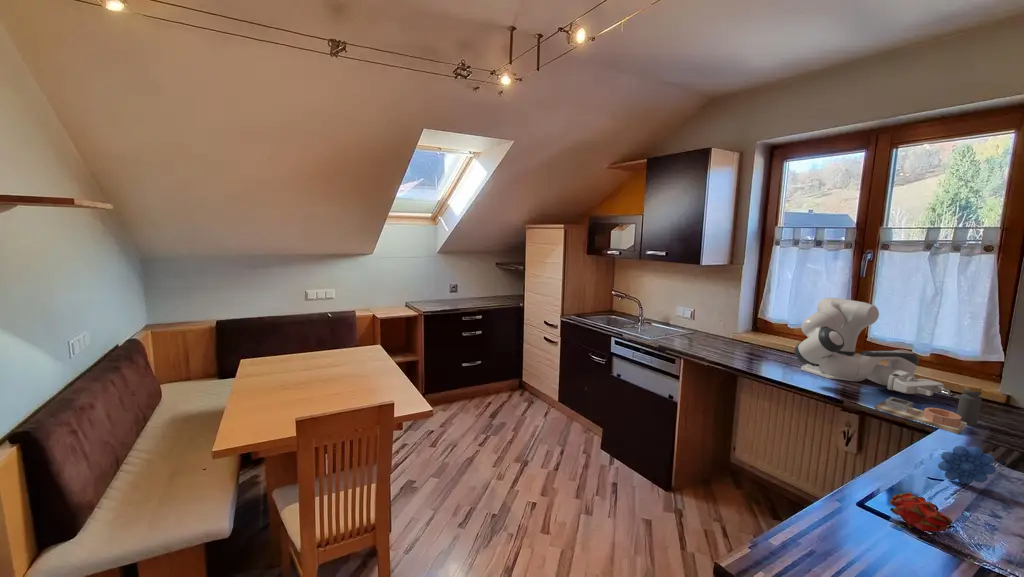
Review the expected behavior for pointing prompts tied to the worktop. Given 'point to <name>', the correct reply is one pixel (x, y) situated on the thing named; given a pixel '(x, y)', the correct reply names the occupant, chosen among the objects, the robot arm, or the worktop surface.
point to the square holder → (899, 404)
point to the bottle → (970, 404)
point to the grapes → (967, 465)
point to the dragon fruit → (919, 513)
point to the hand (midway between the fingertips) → (940, 393)
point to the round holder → (942, 416)
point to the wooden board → (920, 418)
